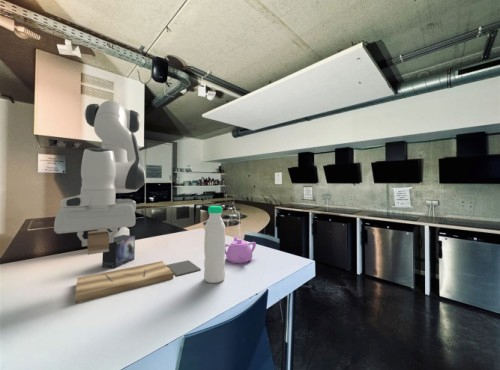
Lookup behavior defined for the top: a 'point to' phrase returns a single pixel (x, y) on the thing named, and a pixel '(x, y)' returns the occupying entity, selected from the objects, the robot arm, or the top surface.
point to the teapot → (239, 251)
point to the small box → (119, 251)
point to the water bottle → (214, 246)
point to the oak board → (120, 280)
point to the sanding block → (98, 242)
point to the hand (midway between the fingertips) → (98, 244)
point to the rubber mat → (183, 268)
